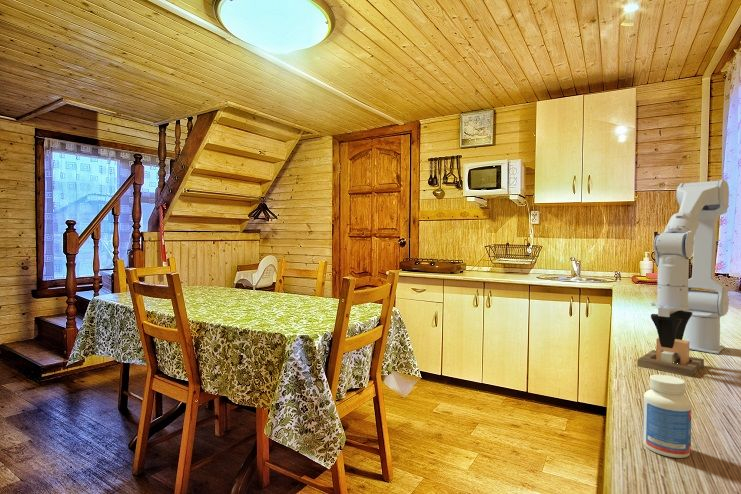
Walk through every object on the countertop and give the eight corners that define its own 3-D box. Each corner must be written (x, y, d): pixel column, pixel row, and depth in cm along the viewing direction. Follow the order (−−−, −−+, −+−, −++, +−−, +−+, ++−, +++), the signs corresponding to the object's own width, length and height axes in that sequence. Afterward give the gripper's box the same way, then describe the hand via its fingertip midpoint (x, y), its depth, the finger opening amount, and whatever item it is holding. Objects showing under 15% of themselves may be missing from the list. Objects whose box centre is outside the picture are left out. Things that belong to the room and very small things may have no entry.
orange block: (659, 359, 98) (660, 336, 98) (689, 365, 94) (689, 341, 94) (656, 362, 96) (656, 338, 96) (685, 368, 92) (686, 343, 92)
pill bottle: (699, 461, 54) (701, 387, 54) (653, 457, 55) (655, 384, 55) (677, 441, 60) (679, 374, 59) (636, 437, 61) (637, 371, 60)
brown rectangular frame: (652, 356, 103) (653, 342, 103) (703, 365, 95) (704, 350, 95) (637, 365, 95) (637, 350, 95) (691, 376, 87) (692, 360, 87)
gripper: (660, 281, 102) (659, 336, 103) (642, 285, 93) (641, 346, 93) (696, 284, 97) (695, 341, 98) (681, 289, 88) (679, 352, 88)
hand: (671, 344), depth 95 cm, fingers open, 7 cm apart
